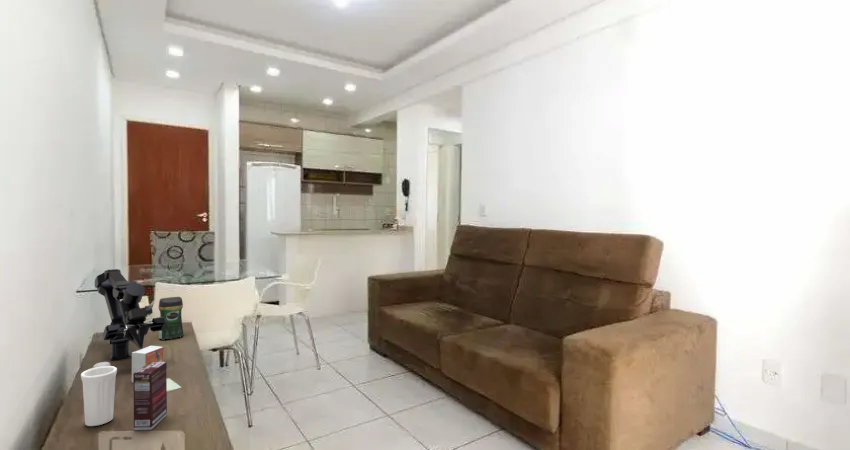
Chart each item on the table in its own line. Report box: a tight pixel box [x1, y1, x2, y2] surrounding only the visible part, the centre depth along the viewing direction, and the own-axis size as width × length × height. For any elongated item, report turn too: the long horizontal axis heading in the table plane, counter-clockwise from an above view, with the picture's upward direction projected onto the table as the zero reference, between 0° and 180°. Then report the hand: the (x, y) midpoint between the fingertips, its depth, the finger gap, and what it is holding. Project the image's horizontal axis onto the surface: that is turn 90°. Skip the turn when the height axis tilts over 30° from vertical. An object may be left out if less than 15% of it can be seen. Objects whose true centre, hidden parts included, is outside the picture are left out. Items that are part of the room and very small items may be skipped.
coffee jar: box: [158, 296, 184, 341], centre depth 194 cm, size 10×8×19 cm
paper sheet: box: [167, 377, 182, 393], centre depth 141 cm, size 11×10×1 cm
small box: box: [131, 345, 164, 384], centre depth 148 cm, size 8×6×10 cm
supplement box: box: [132, 361, 168, 431], centre depth 118 cm, size 9×5×16 cm, turn 5°
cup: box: [80, 365, 118, 427], centre depth 118 cm, size 8×8×14 cm
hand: (141, 347), depth 153 cm, fingers closed
